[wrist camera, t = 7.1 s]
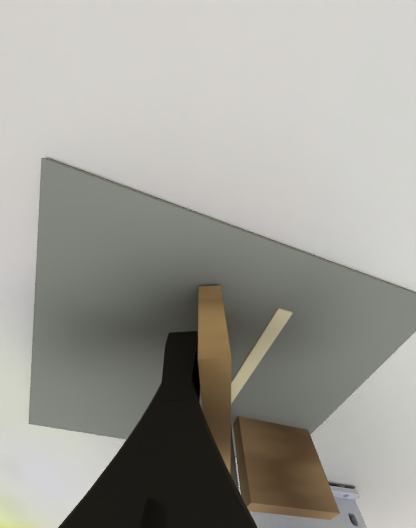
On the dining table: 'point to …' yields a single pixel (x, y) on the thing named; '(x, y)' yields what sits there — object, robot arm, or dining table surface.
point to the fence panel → (215, 367)
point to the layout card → (191, 311)
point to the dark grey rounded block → (280, 470)
